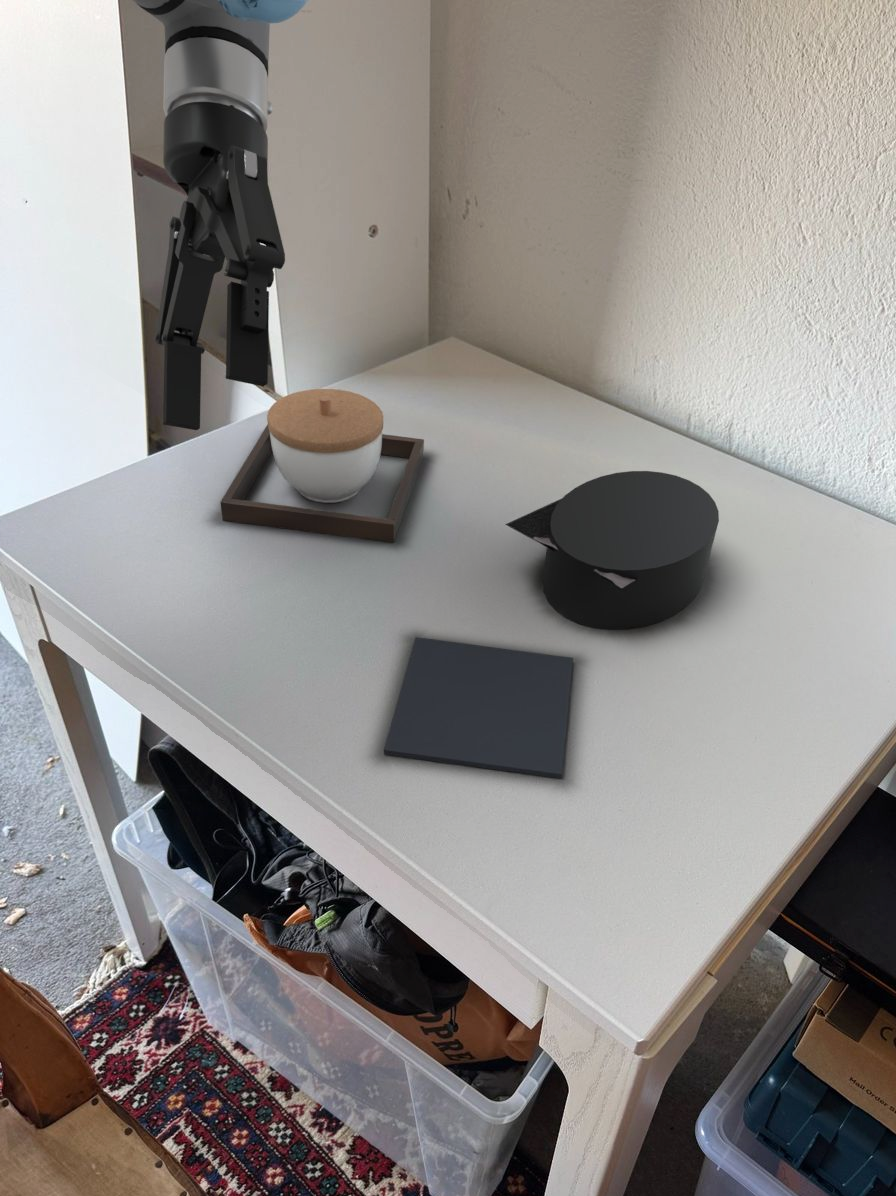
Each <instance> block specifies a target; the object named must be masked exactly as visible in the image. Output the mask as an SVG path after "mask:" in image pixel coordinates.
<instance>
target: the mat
mask: <svg viewBox="0 0 896 1196" xmlns="http://www.w3.org/2000/svg"><path fill="white" fill-rule="evenodd" d="M409 656H410V657H409V659H408V663H407V665H406V670H405V673H404V677H403V681H402V684H401V688H400V690H399V695H398V698H397V702H396V705H395V709H394V712H393V716H392V720H391V723H390V727H389V730H388V734H387V737H386V741H385V745H384V748H383V755H387V756H394V757H402V758H407V759H415V760H423V761H429V762H437V763H446V764H452V765H459V766H467V767H474V768H482V769H490V770H495V771H496V770H497V771H504V772H510V773H519V774H526V775H533V776H539V777H547V778H555V779H562V778H563V769H564V759H565V748H566V740H567V739H566V738H567V727H568V717H569V708H570V706H569V705H570V695H571V685H572V676H573V675H572V674H573V664H574V658H573V657H569V656H563V655H554V654H546V653H539V652H532V651H524V650H516V649H509V648H502V647H495V646H486V645H479V644H471V643H465V642H458V641H457V642H456V641H450V640H443V639H442V640H441V639H435V638H428V637H427V638H426V637H421V636H419V637H418V636H415V638H414V642H413V645H412V649H411V652H410V655H409Z"/></svg>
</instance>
